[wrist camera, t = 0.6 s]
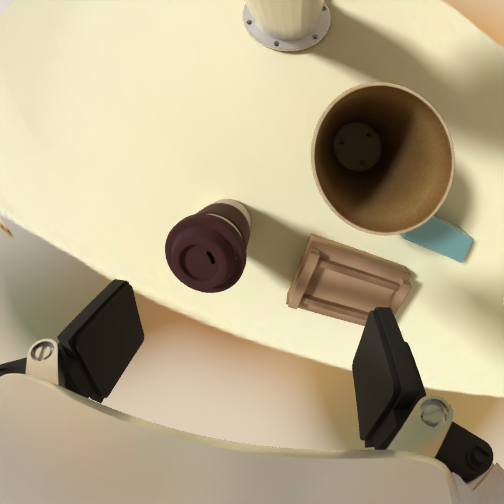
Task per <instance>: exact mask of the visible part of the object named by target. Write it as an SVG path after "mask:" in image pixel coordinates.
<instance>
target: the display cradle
mask: <svg viewBox="0 0 504 504" xmlns="http://www.w3.org/2000/svg"><path fill="white" fill-rule="evenodd" d="M410 276H411V274H410V273H409V271H408V269H407V268H406V267H405V266H403V265H400V264H397V263H395V262H392V261H389V260H386V259H384V258H381V257H378V256H375V255H372V254H369V253H367V252H364V251H361V250H358V249H355V248H352V247H349V246H346V245H344V244H341V243H338V242H335V241H332V240H329V239H326V238H323V237H320V236H317V235H314V234H311V235H310V238H309V241H308V243H307V246H306V248H305V251H304V254H303V256H302V259H301V261H300V264H299V266H298V269H297V271H296V274H295V276H294V279H293V281H292V284H291V286H290V289H289V291H288V293H287V302H286V304H288V307H291V308H294V309H297V307H298V308H301V309H305V310H308V311H312V312H315V313H319V314H322V315H326V316H330V317H333V318H337V319H341V320H344V321H348V322H352V323H355V324H359V325H363V326H365V324H366V321H367V318H368V315H369V312H370V311H371V310H373V311H374V309H375V307H390V308H391V309H392V312H393V314H394V315H395V313H396V312H397V310H398V308H399V307H400V305H401V303H402V302H403V300H404V299H405V297H406V295H407V294H408V292H409V290H410V288H411V287H412V286H411V285H410V283H409V281H408V280H409V278H410Z"/></svg>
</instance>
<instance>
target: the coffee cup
mask: <svg viewBox="0 0 504 504" xmlns="http://www.w3.org/2000/svg"><path fill="white" fill-rule="evenodd" d="M250 227H251V219H250V215H249V213H248V211H247V209H246V208H245V207H244V206H243V205H242V204H241V203H239V202H237V201H235V200H231V199H223V200H219V201H217V202H215V203H214V204H211V205H209V206H207V207H205V208H204V209H202V210H201V211H199V212H198V213H196V214H195V215H191V216H188V217H186V218H184V219H182V220H181V221H180V222H179V223H178V224H176V225H175V226H174V227H173V228H172V230H171V231H170V233H169V235H168V237H167V240H166V244H165V254H166V259H167V262H168V265H169V267H170V269H171V271H172V272H173V273H174V275H175V276H176V277H177V278H178V279H179V280H180V281H181V282H182V283H184V284H185V285H187V286H188V287H190V288H192V289H194V290H197V291H201V292H205V293H216V292H221V291H224V290H226V289H228V288H230V287H232V286H233V285H234V284H235V283H236V282H237V281H238V280H239V279H240V277H241V275H242V273H243V270H244V268H245V265H246V257H247V255H246V249H247V244H248V240H249V236H250Z"/></svg>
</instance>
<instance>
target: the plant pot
mask: <svg viewBox="0 0 504 504" xmlns="http://www.w3.org/2000/svg"><path fill="white" fill-rule="evenodd" d="M367 134H370V135H369V136H367ZM340 142H343V144H341V143H340ZM362 161H363V162H364V164H362ZM311 164H312V171H313V176H314V179H315V182H316V185H317V187H318V190H319V192H320V194H321V196H322V197H323V199H324V201H325V202H326V204H327V205H328V206H329V207H330V209H331V210H332V211H333V212H334V213H335V214H336V215H337V216H338V217H339V218H341V219H342V220H343V221H344V222H346V223H347V224H349V225H350V226H352V227H354V228H356V229H358V230H361V231H363V232H366V233H370V234H375V235H397V234H401V233H405V232H408V231H411V230H413V229H415V228H417V227H419V226H421V225H422V224H424V223H425V222H427V221H428V220H429V219H430V218H431V217H432V216H433V215H434V214H435V213H436V212H437V211H438V209H439V208H440V207H441V205H442V204H443V202H444V201H445V199H446V197H447V195H448V192H449V190H450V187H451V184H452V180H453V175H454V166H455V157H454V148H453V143H452V139H451V136H450V133H449V131H448V128H447V126H446V124H445V122H444V121H443V119H442V117H441V116H440V114H439V113H438V112H437V110H436V109H435V108H434V107H433V106H432V105H431V104H430V103H429V102H428V101H427V100H426V99H424V98H423V97H422V96H420V95H419V94H417V93H416V92H414V91H412V90H410V89H408V88H406V87H404V86H401V85H397V84H393V83H386V82H372V83H366V84H361V85H358V86H355V87H353V88H351V89H349V90H347V91H345V92H343V93H342V94H341V95H339V96H338V97H337V98H336V99H335V100H333V101H332V102H331V104H330V105H329V106H328V107H327V108H326V110H325V111H324V112H323V114H322V116H321V117H320V119H319V121H318V124H317V126H316V129H315V132H314V135H313V140H312V146H311Z"/></svg>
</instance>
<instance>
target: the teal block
mask: <svg viewBox="0 0 504 504" xmlns="http://www.w3.org/2000/svg"><path fill="white" fill-rule="evenodd" d="M400 235H401V236H402V237H403V238H404V239H406V240H409V241H411V242H414V243H416V244H419V245H421V246H424V247H426V248H428V249H431V250H433V251H436V252H438V253H440V254H443V255H445V256H447V257H450V258H452V259H454V260H456V261H459V262H461V263H462V262H463V260H464V258H465V256H466V254H467V252H468V250H469V248H470V246H471V244H472V242H473V240H474V239H473V238H472V237H471V236H469V235H468V234H467V233H466V232H465V231H463V230H462V229H461V228H459V227H457V226H455V225H453V224H451V223H449V222H447V221H445V220H443V219H441V218H439V217H437V216H435V215H433V216H432V217H431V218H430V219H429V220H428V221H427V222H425V223H424V224H422V225H421V226H419V227H417V228H415V229H413V230H411V231H408V232H405V233H401V234H400Z"/></svg>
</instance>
